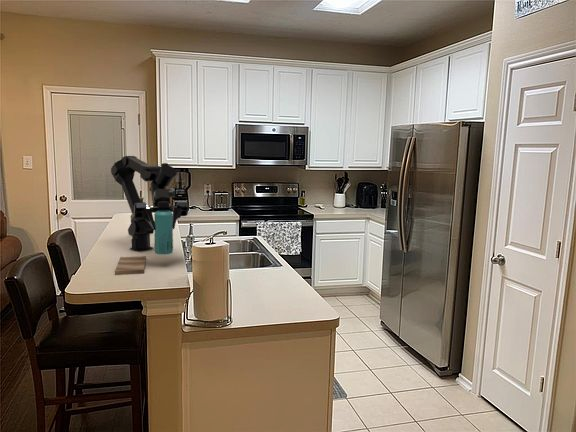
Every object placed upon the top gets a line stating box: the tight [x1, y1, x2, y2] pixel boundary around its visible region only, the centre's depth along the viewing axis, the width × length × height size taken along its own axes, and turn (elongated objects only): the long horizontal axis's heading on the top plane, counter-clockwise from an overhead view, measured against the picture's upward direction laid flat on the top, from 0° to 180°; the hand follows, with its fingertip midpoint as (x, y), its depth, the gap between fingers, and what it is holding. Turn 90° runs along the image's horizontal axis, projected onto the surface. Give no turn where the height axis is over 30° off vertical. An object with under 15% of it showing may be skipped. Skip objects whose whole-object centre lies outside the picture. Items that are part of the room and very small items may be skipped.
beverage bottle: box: [153, 201, 174, 256], centre depth 149 cm, size 6×7×20 cm
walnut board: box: [114, 255, 147, 276], centre depth 148 cm, size 18×9×1 cm, turn 16°
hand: (164, 229), depth 148 cm, fingers closed on beverage bottle, 6 cm apart
